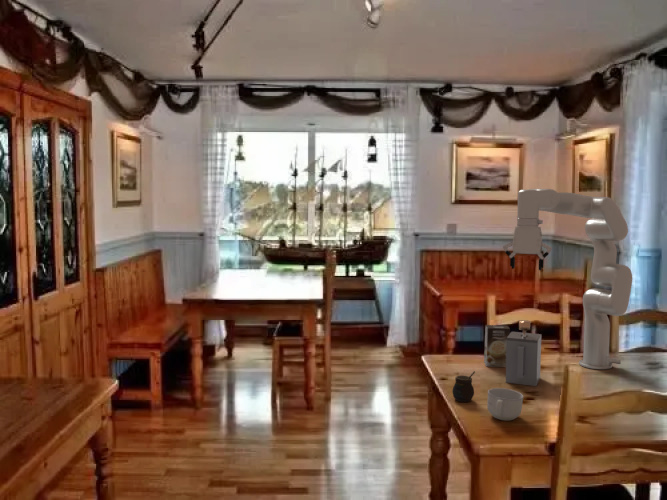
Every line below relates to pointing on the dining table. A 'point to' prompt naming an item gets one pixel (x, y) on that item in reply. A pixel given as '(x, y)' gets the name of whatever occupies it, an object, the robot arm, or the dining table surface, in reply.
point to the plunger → (524, 326)
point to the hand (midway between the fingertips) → (526, 269)
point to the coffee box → (496, 345)
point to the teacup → (504, 403)
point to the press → (523, 358)
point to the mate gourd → (463, 388)
